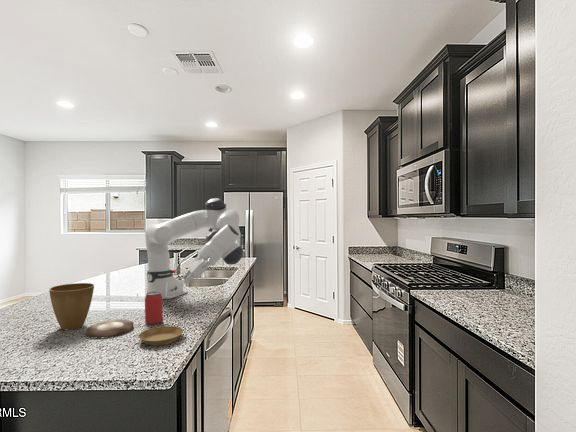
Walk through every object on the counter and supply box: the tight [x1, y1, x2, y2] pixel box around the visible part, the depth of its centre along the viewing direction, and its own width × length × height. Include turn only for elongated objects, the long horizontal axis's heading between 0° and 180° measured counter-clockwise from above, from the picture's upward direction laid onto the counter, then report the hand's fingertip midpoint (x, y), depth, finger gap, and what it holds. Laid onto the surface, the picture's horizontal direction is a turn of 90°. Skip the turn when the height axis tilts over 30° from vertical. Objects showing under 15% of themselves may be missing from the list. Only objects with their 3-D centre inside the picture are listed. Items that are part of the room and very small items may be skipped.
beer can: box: [144, 292, 164, 326], centre depth 135 cm, size 7×7×12 cm
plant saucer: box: [137, 325, 184, 347], centre depth 117 cm, size 15×15×3 cm
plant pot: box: [48, 282, 95, 331], centre depth 131 cm, size 15×15×16 cm
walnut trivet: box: [85, 319, 135, 339], centre depth 127 cm, size 16×16×2 cm
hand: (184, 281), depth 139 cm, fingers open, 8 cm apart
